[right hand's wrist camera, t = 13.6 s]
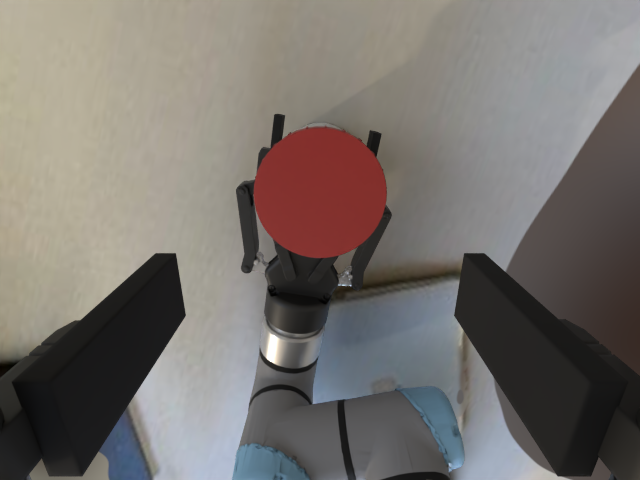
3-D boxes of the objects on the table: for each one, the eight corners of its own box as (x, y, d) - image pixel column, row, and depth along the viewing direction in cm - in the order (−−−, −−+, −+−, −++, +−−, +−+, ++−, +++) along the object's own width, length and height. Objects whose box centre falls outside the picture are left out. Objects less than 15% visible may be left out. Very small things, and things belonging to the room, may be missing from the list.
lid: (405, 206, 28) (412, 214, 26) (305, 269, 30) (304, 281, 28) (338, 97, 25) (339, 96, 23) (232, 174, 27) (225, 180, 25)
